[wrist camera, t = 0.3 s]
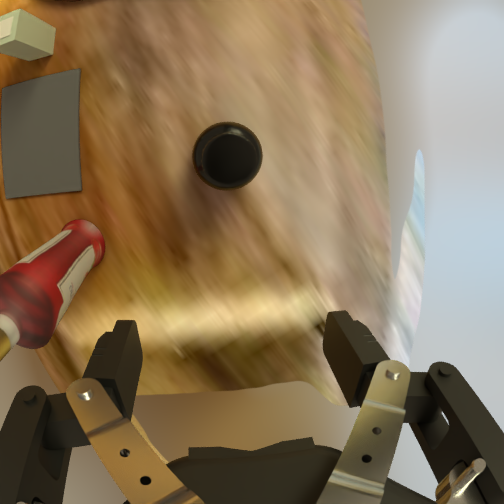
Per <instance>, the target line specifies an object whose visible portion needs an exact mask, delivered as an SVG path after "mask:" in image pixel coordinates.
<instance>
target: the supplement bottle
mask: <svg viewBox="0 0 504 504" xmlns="http://www.w3.org/2000/svg"><path fill="white" fill-rule="evenodd" d="M262 157H263V155H262V148H261V144H260V142H259V140H258V138H257V137H256V135H255V134H254V133H253V132H252V131H251V130H250V129H249V128H247V127H245V126H244V125H241V124H239V123H235V122H221V123H217V124H214V125H212V126H210V127H208V128H207V129H206V130H204V131H203V132H202V133H201V134H200V136H199V137H198V138H197V140H196V142H195V145H194V148H193V153H192V160H193V165H194V168H195V171H196V173H197V175H198V176H199V177H200V179H201V180H202V181H203V182H205V183H206V184H207V185H209V186H211V187H213V188H215V189H219V190H235V189H239V188H241V187H243V186H245V185H247V184H248V183H250V182H251V181H252V180H253V179H254V178H255V176H256V175H257V173H258V172H259V170H260V167H261V164H262Z"/></svg>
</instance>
